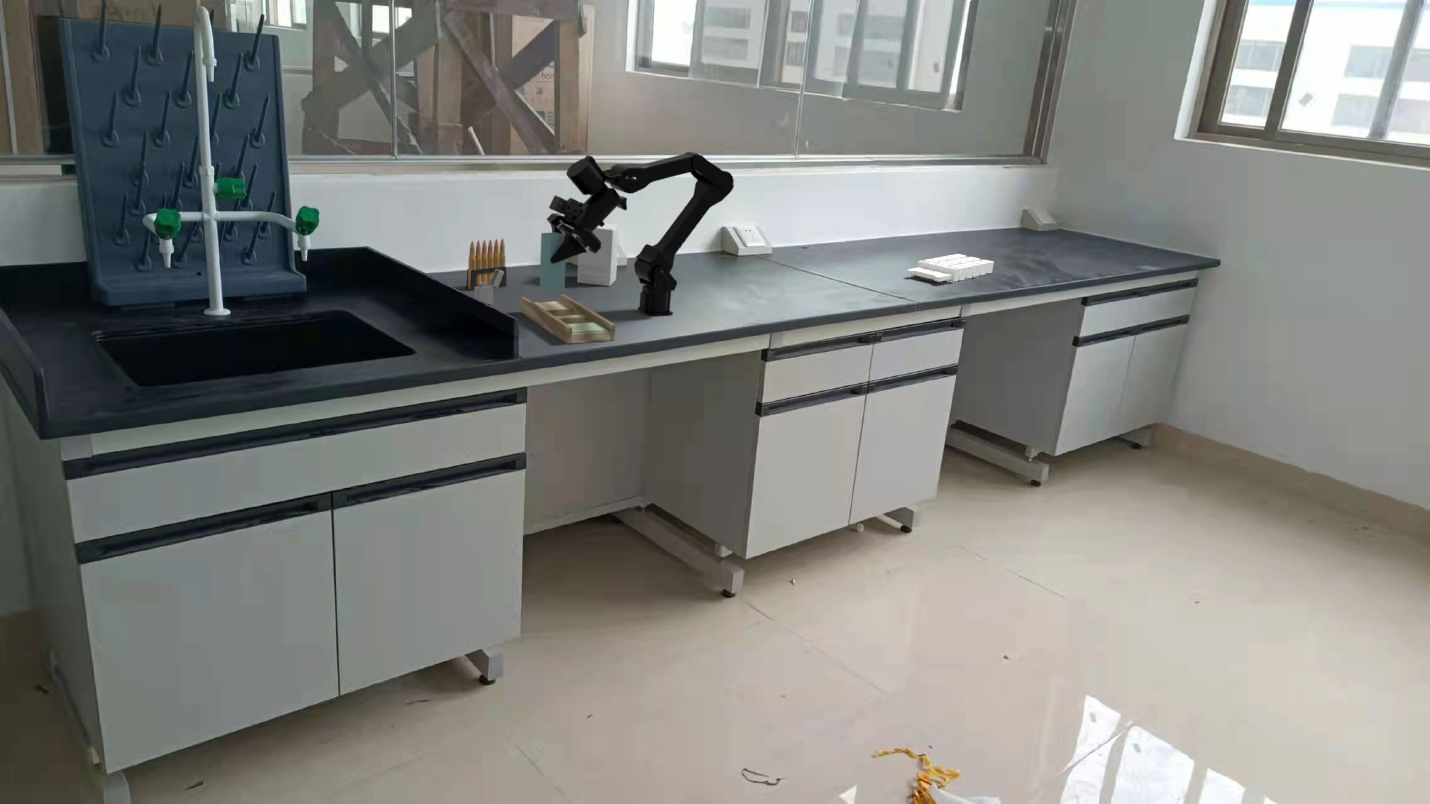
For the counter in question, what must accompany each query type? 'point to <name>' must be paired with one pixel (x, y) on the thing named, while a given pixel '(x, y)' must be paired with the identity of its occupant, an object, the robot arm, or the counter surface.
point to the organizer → (952, 268)
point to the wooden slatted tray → (569, 320)
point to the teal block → (549, 272)
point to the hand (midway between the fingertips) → (547, 259)
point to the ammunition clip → (485, 264)
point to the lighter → (488, 288)
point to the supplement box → (600, 258)
